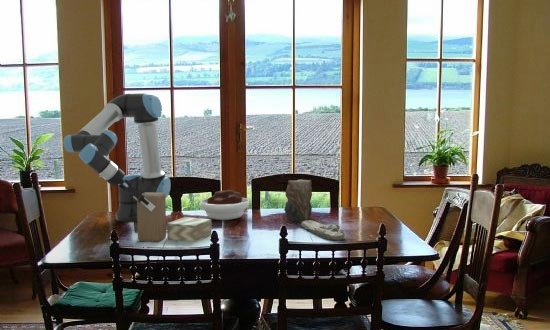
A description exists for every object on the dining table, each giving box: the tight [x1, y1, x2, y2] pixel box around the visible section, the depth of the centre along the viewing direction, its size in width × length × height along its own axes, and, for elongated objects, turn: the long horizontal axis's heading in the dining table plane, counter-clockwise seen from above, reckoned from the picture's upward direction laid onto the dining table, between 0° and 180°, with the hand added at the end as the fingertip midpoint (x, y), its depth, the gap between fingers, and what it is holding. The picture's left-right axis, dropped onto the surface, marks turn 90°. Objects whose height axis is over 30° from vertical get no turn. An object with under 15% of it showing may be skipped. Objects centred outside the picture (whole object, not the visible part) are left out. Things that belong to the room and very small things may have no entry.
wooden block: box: [136, 192, 167, 243], centre depth 237 cm, size 10×10×20 cm
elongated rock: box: [300, 219, 346, 241], centre depth 247 cm, size 35×5×10 cm
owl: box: [283, 178, 313, 223], centre depth 277 cm, size 13×13×20 cm
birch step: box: [166, 216, 213, 243], centre depth 242 cm, size 14×14×7 cm
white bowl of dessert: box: [199, 189, 250, 221], centre depth 280 cm, size 25×25×15 cm
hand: (149, 206), depth 237 cm, fingers closed on wooden block, 13 cm apart
